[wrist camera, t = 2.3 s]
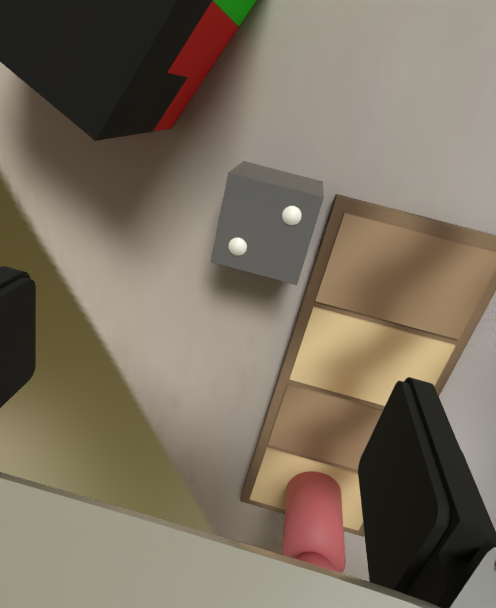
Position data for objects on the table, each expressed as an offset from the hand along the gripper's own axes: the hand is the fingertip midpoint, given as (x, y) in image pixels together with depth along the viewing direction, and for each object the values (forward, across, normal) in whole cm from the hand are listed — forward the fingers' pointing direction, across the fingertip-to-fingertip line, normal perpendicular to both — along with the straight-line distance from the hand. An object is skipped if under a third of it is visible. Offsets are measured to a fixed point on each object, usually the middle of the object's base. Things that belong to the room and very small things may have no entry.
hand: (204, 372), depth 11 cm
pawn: (+17, -9, +21) cm, 29 cm away
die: (+18, 0, 0) cm, 18 cm away
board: (+18, -9, +12) cm, 23 cm away
